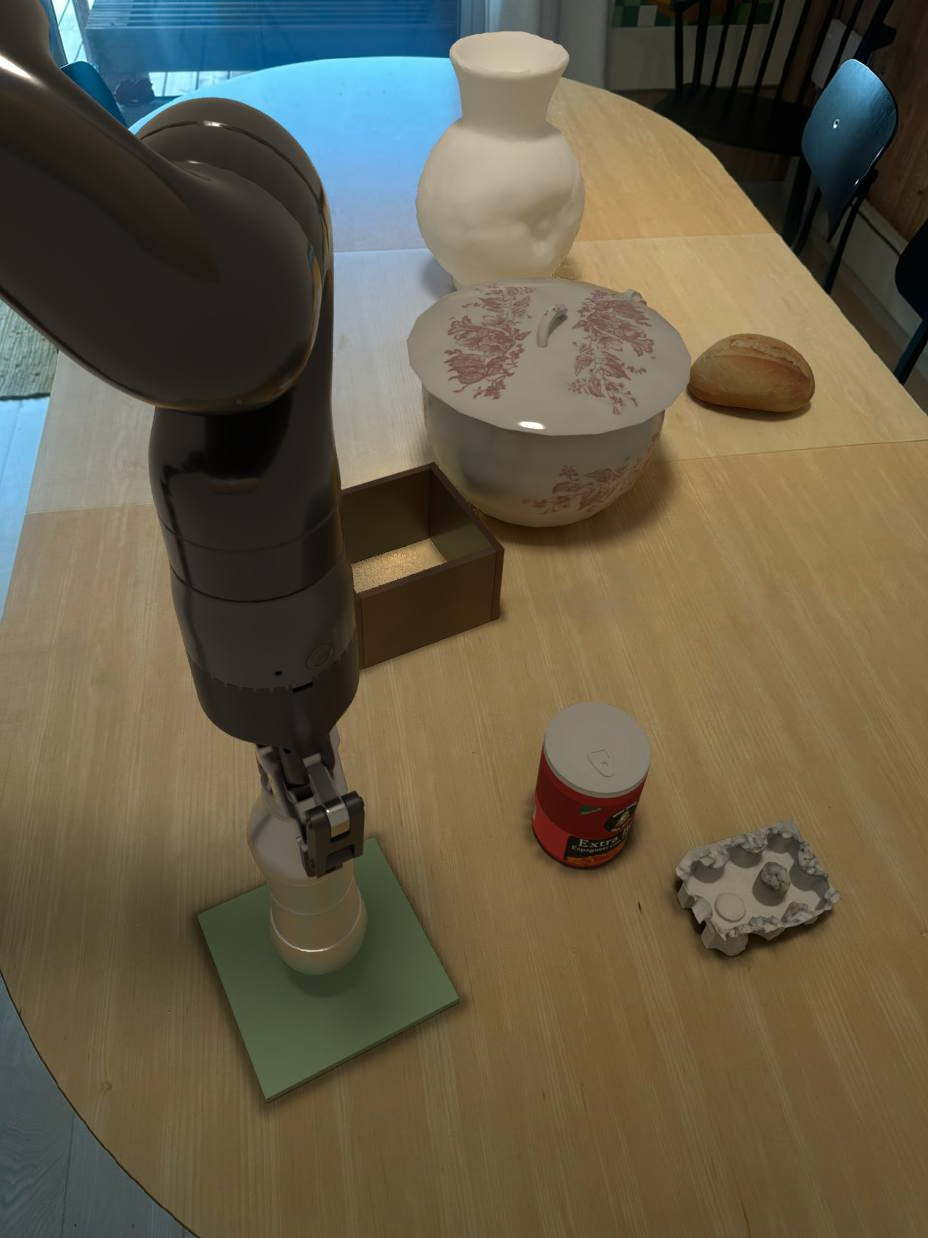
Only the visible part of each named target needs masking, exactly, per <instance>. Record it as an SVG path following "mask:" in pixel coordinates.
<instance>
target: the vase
mask: <svg viewBox="0 0 928 1238" xmlns="http://www.w3.org/2000/svg"><path fill="white" fill-rule="evenodd" d="M448 56H449V60H450V63H451V66H452V69H453V71H454V74H455V76H456V79H457V83H458V87H459V94H460V105H461V117H459V118H457V119H456V120H455V121H453V122H452V123H451V124H450V125H448V127H447V128H446V130H445V131H444V132H443V133H442V134H441V136H439V138H438V140H437V142H435V144H433V146H432V148H431V149H430V151H429V155H428V157H426V160H425V163H424V165H423V168H422V171H421V174H420V176H419V178H418V182H417V190H416V191H417V194H416V197H415V202H414V203H415V210H416V215H415V217H416V221H417V226H418V230H419V233H420V235H421V238H422V239H423V241H424V243H425V246H426V247H427V249H428V250H429V252H430V253H431V254H432V256H433V257H434V258H435V260H436V261H437V262H438V264H439V265H440V266H441V268H442V269H444V270H445V271H446V272H447V273H448V274H449V275H451V277H453V278H452V283H453V285H454V287H455V289H456V291H458V290H460V289H462V288H465V287H467V286H470V285H472V284H477V283H482V282H487V281H493V280H498V279H503V278H508V277H552V275H553V274H554V273H555V272H556V270H557V269H558V268H559V266H561V264H562V263H563V261H564V259H565V258H566V256H567V255H568V254H569V253H570V250H571V249H572V248H573V245H574V242H575V240H576V238H577V237H578V234H579V232H580V229H581V225H582V219H583V217H584V212H585V202H586V186H585V182H584V177H583V174H582V168H581V165H580V162H579V158H578V156H577V155H576V153H575V151H574V149H573V148H572V146H571V145H570V143H569V141H568V140H567V138H566V137H565V135H564V133H562V131H561V130H560V129H559V128H557V127H556V126H555V125H553V124H552V123H550V122H549V121H547V120H546V118H547V111H548V108H549V104H550V102H551V99H552V97H553V94H554V92H555V90H556V87H557V85H558V83H559V82H560V79H561V77H562V76H563V74H564V72H565V71H566V70H567V67H568V65H569V62H570V54H569V53H568V50H566V48H564V47H563V45H562V44H559V43H555V42H554V41H553V40H550V39H547V38H543V37H540V36H539V35H536V34H532V33H530V32H526V31H519V30H518V31H517V30H516V31H513V30H506V31H505V30H504V31H495V32H490V31H489V32H483V33H476V34H472V35H467V36H465V37H461V38H459V39H458V40H456V41H455V42H454V43H453V44H451V47H450V48H449V55H448Z"/></svg>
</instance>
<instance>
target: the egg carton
mask: <svg viewBox="0 0 928 1238" xmlns="http://www.w3.org/2000/svg"><path fill="white" fill-rule="evenodd" d="M675 874H676V875H677V876H678V877H679V878H680V879H681V882H682V885H681V887H680V888H679V891H678V892H677V900H678V901H679V904H680V907H681V908H682V909H692V913H693V914H694V917H695V919H696V920H697V922H698V924H699V925H701V924H702V922H705V926H704V929H703V931H702V932H701V935H700V940H701V942H702V943H703V946H704V947H705V948H706V949H707V950H710V949H716V950H718V951H720V952H723V953H724V954H725V955H727V956H729V957H730V956H731V957H732V956H737V955H739V954H740V953H742V951H744V950H746V945H747V944H748V942H749V936H748V935H749V934H755V935H759V936H760V937H762V938H764V939H766V940H767V941H771V940H773V939H774V938H776V937H777V936H780V935H781V933H783V932H784V931H785V929H786V928H790V927H796V926H798V925H800V924H804V925H805V926H807V925H811V924H814V923H815V922H816V921H817V920H818V919H819V915H821V914H823V912H826V911H829V910H831V909H832V908H833V907H834V905H835V904H836V903H837V902H838V901H841V899H842V896H841V893H840V892H839V890H836V889H835V888H834V886H833V885H832V883H831V881H830V879H829V872H828V871H827V870H826V869H825V868H823V867H822V865H821V863H820V861H819V857H817V855H816V854H815V853H814V851H813V849H812V847H811V844H810V842H808V841H806V840H805V839H804V838H803V836H802V833H801V831H800V829H799V827H798V826H797V824H796V822H795V821H794V819H793V818H787V819H784V820H782V821H779V822H775V823H773V824H770V825H768V826H766V827H763V828H761V829H758V828H757V829H754V830H753V831H752V832H748V831H743V832H740V833H738V834H736V835H734V836H731V837H728V838H724V839H720V840H719V841H717V842H713V843H709V844H704V845H700V846H697V847H695V848H692V849H691V850H689V851H688V852H687V853H686V854H685V856H683V858H682V859H681V861H680V862H679V863H678V865H677V866H676V867H675Z"/></svg>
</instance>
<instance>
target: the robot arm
mask: <svg viewBox="0 0 928 1238" xmlns="http://www.w3.org/2000/svg"><path fill="white" fill-rule="evenodd" d="M327 196H328V195H327V191H326V190H325V187H324V184H323V181H322V179H321V177H320V175H319V172H318V170H317V168H316V167H315V164H314V163H313V161H312V159H311V158H310V156H309V155H308V153H307V152H306V150H305V149H304V148H303V146H302V144H300V143H299V141H298V140H297V139H296V138H295V136H293V135H292V134H291V133H290V132H289V130H287V129H286V128H285V127H284V126H283V125H282V124H280V123H279V122H278V121H276V119H274V118H272V117H271V116H270V115H268V114H266V113H265V112H263V111H262V110H260V109H258V108H255V107H254V106H252V105H249V104H246V103H244V102H243V101H242V102H241V101H239V100H235V99H232V98H231V99H230V98H227V97H217V96H206V97H203V96H202V97H196V98H191V99H186V100H183V101H180V102H177V103H174V104H172V105H170V106H168V107H166V108H165V109H163V110H161V111H160V112H159V113H157V114H156V115H155V116H153V117H152V118H150V119H149V120H147V122H146V123H144V125H142V126H141V127H140V128H139V129H138V131H137V132H136V133H133V132H132V131H131V130H130V129H128V127H126V126H125V125H124V124H123V123H122V122H120V121H119V120H118V119H117V118H116V117H115V116H113V114H111V113H110V112H109V111H108V110H107V109H106V108H105V107H103V106H102V104H100V103H99V102H97V100H95V98H93V97H92V96H91V95H90V94H88V93H87V92H86V91H85V90H84V89H82V87H81V86H79V84H77V83H76V82H75V81H73V79H72V78H71V77H69V76H68V75H67V74H66V73H65V72H64V71H63V70H62V69H61V68H60V67H59V66H58V64H57V62H56V60H55V59H54V38H53V31H52V26H51V24H50V20H49V18H48V15H47V12H46V9H45V8H44V6H43V5H42V3H41V2H40V0H0V301H2V303H4V304H5V305H6V306H7V307H8V308H9V309H11V311H13V312H14V313H15V314H16V315H18V316H19V317H20V318H21V319H22V320H23V321H25V322H26V323H27V324H28V325H29V326H30V327H32V328H33V329H34V330H35V331H36V332H37V333H39V334H40V335H41V336H42V337H43V338H44V339H46V340H47V341H48V342H49V343H51V345H53V346H54V347H55V348H56V349H57V350H58V351H60V352H61V353H62V354H64V355H65V357H67V358H68V359H70V360H71V361H72V362H74V363H75V364H76V365H78V366H79V367H80V368H82V369H83V370H85V371H86V372H88V373H89V374H91V375H92V376H94V377H95V378H97V380H100V381H101V382H103V383H105V384H106V385H107V386H110V387H111V388H114V389H116V390H117V391H119V392H121V393H123V394H125V395H126V396H128V397H131V398H133V399H135V400H137V401H141V402H143V403H145V404H147V405H151V406H152V407H154V412H153V420H152V423H151V429H150V435H149V440H148V448H147V449H148V450H147V464H148V465H147V466H148V479H149V485H150V490H151V495H152V500H153V504H154V507H155V510H156V515H157V517H158V522H159V523H158V524H159V526H160V530H161V534H162V538H163V542H164V546H165V550H166V553H167V559H168V565H169V575H170V576H169V579H170V591H171V597H172V603H173V608H174V612H175V615H176V620H177V624H178V627H179V631H180V634H181V639H182V643H183V647H184V650H185V653H186V654H185V655H186V657H187V661H188V666H189V669H190V673H191V676H192V677H191V678H192V681H193V684H194V688H195V691H196V696H197V699H198V702H199V704H200V707H201V709H202V711H203V712H204V714H205V715H206V717H207V719H209V721H210V722H211V723H212V724H213V725H214V726H216V727H217V728H218V729H219V730H220V731H222V732H223V733H224V734H227V735H229V736H230V737H233V738H234V739H237V740H240V741H243V742H246V743H251V744H252V747H253V750H254V754H255V758H256V759H255V760H256V764H257V768H258V774H259V775H260V776H261V770H262V767H263V769H264V771H265V772H266V773H267V775H268V778H269V781H270V784H271V788H272V791H273V794H274V797H275V801H276V804H277V806H278V807H279V809H280V810H281V812H282V814H283V815H284V817H285V818H287V819H292V822H293V825H294V828H295V832H296V835H297V837H296V838H295V839H296V842H297V844H298V846H299V849H300V855H301V861H302V866H303V868H304V870H305V872H306V874H307V876H308V877H315V876H316V877H317V879H318V878H321V877H323V876H325V875H327V874H330V873H332V872H334V871H336V870H339V869H341V868H342V867H343V863H344V862H346V861H348V860H350V859H355V858H357V857H359V856H362V855H363V843H364V841H365V840H364V839H365V837H364V836H365V820H366V811H365V806H366V805H365V801H364V799H363V797H362V796H361V795H359V793H358V792H357V790H356V789H355V790H352V791H350V792H348V791H349V787H348V784H347V780H346V776H345V773H344V769H343V765H342V760H341V758H340V753H339V750H338V748H339V746H340V743H341V738H340V734H339V730H338V727H337V724H338V722H339V721H340V719H341V718H342V717H343V716H344V714H345V713H346V712H347V711H348V709H349V708H350V707H351V704H352V703H353V701H354V699H355V697H356V695H357V692H358V689H359V683H360V670H359V655H358V639H357V623H356V608H355V593H354V590H355V578H354V571H353V570H354V569H353V565H352V563H351V561H350V556H349V553H348V549H347V545H346V540H345V533H344V524H343V509H342V495H341V490H342V479H341V471H340V461H339V457H338V452H337V446H336V438H335V430H334V429H335V428H334V418H333V404H332V401H333V397H332V395H333V375H334V373H333V372H334V371H333V370H334V364H333V363H334V332H335V331H334V327H335V324H334V323H335V257H334V254H335V253H334V236H333V235H334V233H333V222H332V213H331V208H330V204H329V199H328V197H327ZM284 781H286V782H287V783H289V784H308V785H306V786H303V787H301V788H299V789H296V790H294V791H287V789H286V786H285V783H284Z"/></svg>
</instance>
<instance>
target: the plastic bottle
mask: <svg viewBox="0 0 928 1238" xmlns="http://www.w3.org/2000/svg"><path fill="white" fill-rule="evenodd" d="M284 783H285V786H286V789H287V791H294V790H296V789H299V788H301V787H303V786H306V785H308V784H289V783H287V782H286V781H284ZM260 786H261V787H260V788H261V789H260V793H259V794H258V796H257V797H256V799H255V801H254V803H253V804H252V807H251V810H250V814H249V816H248V819H247V823H246V833H245V834H246V841H247V845H248V847H249V850H250V852H251V856H252V858H253V860H254V862H255V863H256V865H257V867H258V869H259V870H260V872H261V874H262V876H263V877H264V880H265V882H266V884H267V885H268V888H269V891H270V898H271V906H270V914H269V932H270V938H271V940H272V943H273V946H274V947H275V949H276V951H277V952H278V954H279V955H280V956H281V958H282V959H283V960H284V961H285V962H286V963H287V964H288V965H289V966H290V967H291V968H293V969H295V970H296V971H298V972H301V973H304V974H308V975H325V974H329V973H332V972H335V971H337V970H339V969H341V968H342V967H344V966H345V965H346V964H348V963H349V962H350V961H351V960H352V959H353V958H354V957H355V955H356V954H357V952H358V951H359V949H360V947H361V944H362V942H363V939H364V935H365V932H366V926H367V911H366V907H365V903H364V900H363V898H362V895H361V893H360V891H359V889H358V887H357V885H356V882H355V878H354V861H353V860H354V859H350V860H348V861H346V862H344V863H343V867H342V868H341V869H339V870H336V871H334V872H332V873H330V874H327V875H325V876H323V877H321V878H318V879H317V877H316V876H315V877H308V876H307V874H306V872H305V870H304V868H303V866H302V861H301V855H300V849H299V846H298V844H297V842H296V839H295V838H296V837H297V835H296V832H295V828H294V825H293V822H292V819H287V818H285V817H284V815H283V814H282V812H281V810H280V809H279V807H278V806H277V804H276V801H275V797H274V794H273V791H272V788H271V784H270V781H269V778H268V775H267V773H266V772H265V771H264V769H263V767H262V770H261V775H260Z"/></svg>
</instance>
